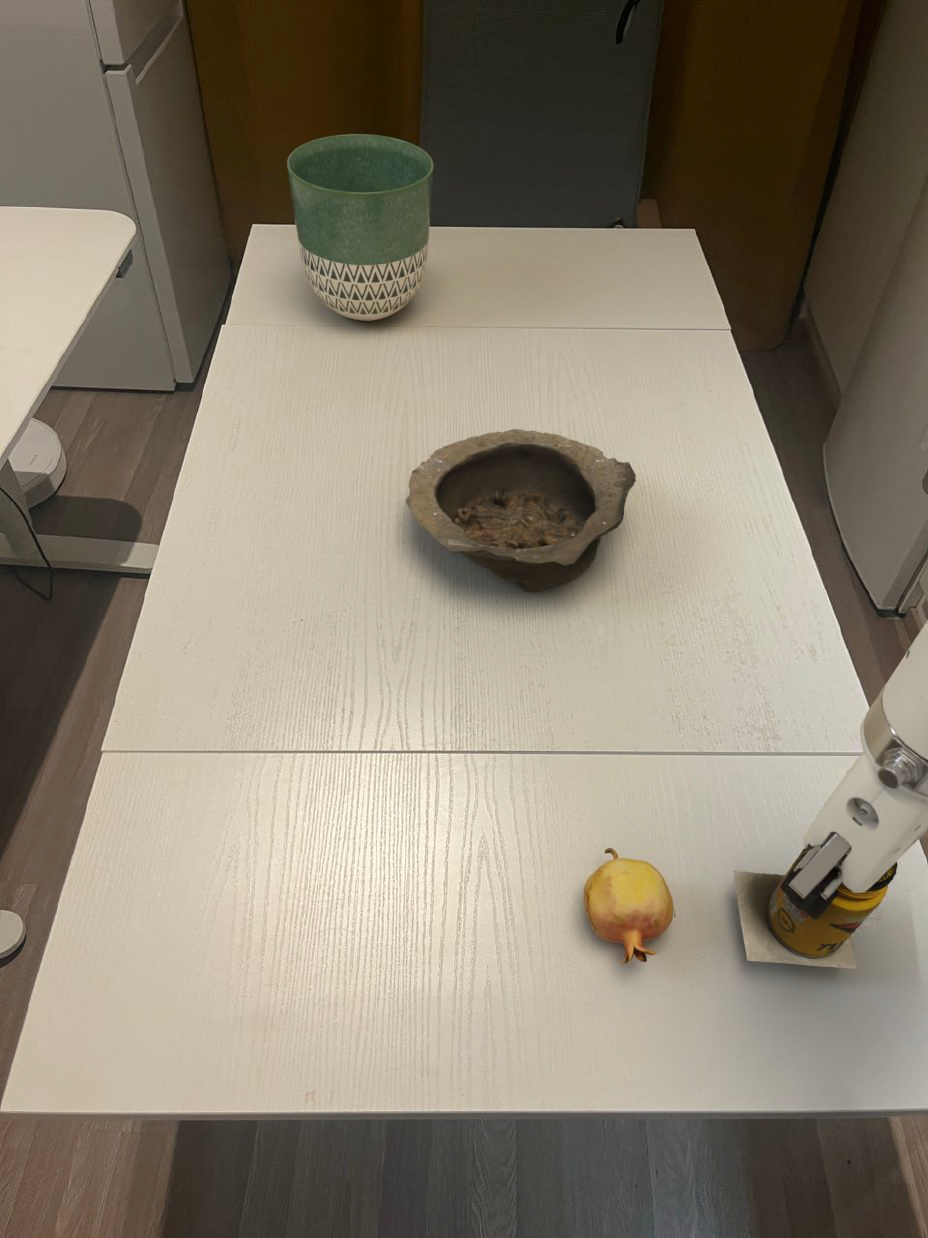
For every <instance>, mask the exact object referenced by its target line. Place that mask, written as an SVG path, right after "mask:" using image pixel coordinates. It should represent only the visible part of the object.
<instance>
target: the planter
mask: <svg viewBox="0 0 928 1238" xmlns="http://www.w3.org/2000/svg"><path fill="white" fill-rule="evenodd" d="M286 166H287V175H288V176H287V177H288V184H289V190H290V196H291V201H292V208H293V215H294V222H295V229H296V235H297V241H298V247H299V248H298V249H299V254H300V259H301V264H302V268H303V270H304V273H305V277H306V278H307V281H308V283H309V285H310V288H311V289H312V291H313V292H314V294H315V295H316V296H317V298H318V299H319V300H320V301H321V302H322V303H323V304H324V305H326V307H328V308H329V309H331V310H332V311H334V312H335V313H337V314H339V315H340V316H341V317H345V318H347V319H351V320H355V321H364V322H365V321H366V322H369V321H371V322H372V321H377V320H382V319H386V318H388V317H390V316H392V315H394V314H396V313H397V312H399V311H400V310H402V308H404V307H405V306H406V305H407V304H408V303H409V302H410V301H412V298H414V296H415V295H416V293H417V292H418V290H419V288H420V286H421V284H422V280H423V277H424V274H425V271H426V267H427V259H428V250H429V239H430V226H431V214H432V213H431V211H432V198H433V187H434V167H435V166H434V161H433V158H432V157H431V156H430V154H429V153H428V152H427V151H425V149H423V148H422V147H420V146H418V145H415V144H414V143H411V142H408V141H406V140H403V139H399V138H395V137H392V136H385V135H377V134H368V133H367V134H366V133H365V134H364V133H349V134H337V135H330V136H325V137H320V138H316V139H314V140H310V141H308V142H305V143H304V144H301V145H300V146H298V147H296V148H295V149H294V150H293V151H292V152H291V153H290V154H289V155H288V157H287V160H286Z"/></svg>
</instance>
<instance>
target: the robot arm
mask: <svg viewBox="0 0 928 1238" xmlns="http://www.w3.org/2000/svg"><path fill="white" fill-rule="evenodd" d="M859 737H860V743H861V746H862V752H861V753H860V755H859V756H858V758H857V759H856V760H855V761H854V763H853V764H852V765H851V767H850V768H849V769H848V770H847V771H846V773H845V775H844V777H843V778H842V780H841V781H840V782H839V783H838V784H837V786H836V788H835V789H834V790H833V792H832V793H831V794H830V796H829V797H828V798H827V800H826V801H825V803H824V804H823V806H822V807H821V809H820V810H819V811H818V813H817V814H816V816H815V818H814V819H813V821H812V822H811V824H810V825H809V827H808V828H807V830H806V832H805V834H804V836H803V849H804V848H805V850H806V849H807V848H809V849H810V850H809V851H808V853H807V854H806V855H805V856H804V857H803V859H802V858H801V859H800V860H799V861H798V862H797V863H796V864H795V866H794V867H793V868H792V870H791V871H790V873H789V874H788V875H787V877H786V878H785V880H784V881H783V883H782V884H781V886H780V887H781V890H782V891H783V892H784V893H785V894H786V895H787V896H788V898H789V900H790V901H791V902H792V904H794V905H795V906H796V907H797V908H798V909H799V910H801V911H805V912H806V913H807V914H808V915H809V916H810V917H811V918H812V919H815V920H817V919H818V918H819V917H820V916H821V915H822V914H823V912H824V911H825V910H826V909H827V907H828V906H829V905H830V904H831V903H832V901H833V900H834V899H835V898H836V897H837V895H838V894H839V892H838V890H837V888H838V887H839V886H840V885H841V884H842V883H843V884H844V885H845V886H846V887H847V888H849V889H850V890H851V891H852V892H854V893H862V892H865V891H867V890H868V889H869V888H870V887H871V886H872V885H873V884H874V883H876V882H877V881H878V880H879V879H880V878H881V877H882V876H883V875H884V874H885V873H886V872H887V871H888V870H889V869H890V868H891V867H892V866H893V865H894V864H895V863H896V862H897V863H898V861H899V860H900V859H901V858H902V857H903V856H904V855H905V854H906V853H907V852H908V851H909V850H910V849H911V848H912V847H913V845H915V844H916V842H918V840H919V839H921V837H922V836H924V834H925V833H926V832H927V831H928V619H927V620H926V622H925V623H924V625H923V626H922V628H921V629H920V631H919V632H918V634H917V635H916V637H915V638H914V640H913V642H912V643H911V644H910V646H909V648H908V650H907V651H906V652H905V654H904V655H903V656H902V659H901V660H900V662H899V663H898V664H897V666H896V668H895V670H894V671H893V673H892V674H891V675H890V677H889V679H888V680H887V682H886V683H885V685H883V687H882V689H881V690H880V692H879V693H878V695H877V697H876V698H875V700H874V701H873V703H872V704H871V706H870V707H869V709H868V711H867V712H866V714H865V715H864V717H863V718H862V721H861V724H860V729H859ZM846 854H847V857H846V856H845V855H846ZM833 868H835V869H836V870H837V871H838V872H839V873H838V874H837V875H836V876H835V877H834V878H833V880H832V879H831V878H829V877H828V876H827V875H828V873H829V872H830V871H831V870H832V869H833Z"/></svg>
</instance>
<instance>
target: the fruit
mask: <svg viewBox="0 0 928 1238" xmlns="http://www.w3.org/2000/svg"><path fill="white" fill-rule="evenodd" d="M606 854H611V855H612V857H613V858H612V859H610V860H608V861H606V862H605V863H603V864H602V865H600V866H599V867H598V868H597V869H596V870H595V871H594V872H593V873H592V874H591V875H590V876H589V877H588V878H587V880H586V882H585V884H584V887H583V904H584V910H585V913H586V916H587V918H588V921H589V924H590V926H591V929H592V931H593V932H594V933H595V935H596V936H597V937H598V938H600V939H601V940H603V941H606V942H607V941H608V942H611V943H616V944H623V946H624V958H623V959H622V960H621V961H620V964H621V965H623V964H625V965H626V964H629V962H631V961H632V959H633V958H634V956H635V958H636V959H637V960H638V961H640V962H642V963H646V962H648V956H655V955H657V952H656V951H653V950H650V949H648V948H645V947H644V945H643V944H644V943H643V942H648V941H651V940H654V939H655V938H657V937H659V936H660V935H662V934H663V933H664V932H665V931H667V929H668V928H669V926H670V924H671V923H672V921H673V917H674V900H673V896H672V893H671V892H670V890H669V887H668V885H667V882H666V879H665V878H664V876H663V875H662V874H661V872H660V871H659V870H658V869H657V868H656V867H655V866H654V865H652V864H651V863H650V862H648V861H644V860H640V859H633V858H625V857H619V855H618V852H617V851H616V850H615V849H614V848H611V847H608V848H606V849H605V850H604V855H606ZM647 955H648V956H647Z"/></svg>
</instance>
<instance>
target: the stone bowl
mask: <svg viewBox="0 0 928 1238" xmlns="http://www.w3.org/2000/svg"><path fill="white" fill-rule="evenodd" d="M636 477H637V475H636V473H635V471H634V469H633V467H632V465H631V463H630V461H629V462H628V461H627V462H625V461H624V462H622V461H619V460H618V459H617V458H615V457H611V458H607V457H606V456H605V454H604V451H602V450H601V449H599V448H598V447H595V446H592V445H588V444H585V443H583V442H580V441H578V440H574V439H570V438H568V437H566V436H562V435H560V434H556V433H550V432H547V431H546V432H541V431H536V430H524V429H521V428H520V429H518V428H515V429H509V430H505V431H503V432H502V431H496V432H487V433H484V434H480V435H475V436H470V437H467V438H466V439H463V440H458V441H455V442H452V443H450V444H447V445H444V446H442V447H440V448H438V449H436V450H434V452H433V453H432V454H430V455H429V458H427V459H426V461H421V462H420V463H419V466H417V467H416V468H415V469H413V470H412V471H411V474H410V477H409V480H408V488H409V493H408V496H407V498H406V499H405V503H406V506H407V507H408V509H409V511H410V512H411V513H412V515H413V516H414V518H415V520H416V521H417V523H418V524H419V526H420V527H421V528H422V529H424V530H426V531H428V533H429V534H430V535H431V536H432V537H433V538H434V539H435V540H436V541H437V542H438V543H439V545H441V546H443V547H445V548H446V549H447V551H448V552H449V553H455V554H456V553H457V554H462V555H463V557H465V558H467V559H468V560H470V561H472V562H473V563H474V564H475V565H477V566H480V567H481V568H483V569H487V570H489V571H490V572H491V573H493V574H495V575H496V576H497V577H499V578H501V579H503V580H506V581H513V582H515V583H516V584H517V586H518V587H519V588H520V589H521V590H522V591H523V592H536V591H539V590H542V589H545V588H551V587H554V586H557V585H561V584H564V583H569V582H570V581H572V580H573V579H575V577H577V575H579V574H582V573H584V572H585V571H586V570H587V569H589V568H590V567H591V565H592V563H594V561H595V559H596V557H597V553H598V550H599V546H600V543H601V539H602V537H603V536H607V535H608V534H609V533H612V532H613V531H615V530H616V529H617V528H618V527H619V526H620V525H621V524H622V522H623V520H624V515H625V506H626V502H627V497H628V495H629V492H630V491H631V489H632V488H633V487H634V485H635V483H636V481H637V480H636Z"/></svg>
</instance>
